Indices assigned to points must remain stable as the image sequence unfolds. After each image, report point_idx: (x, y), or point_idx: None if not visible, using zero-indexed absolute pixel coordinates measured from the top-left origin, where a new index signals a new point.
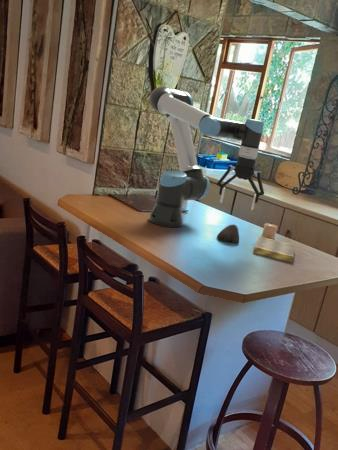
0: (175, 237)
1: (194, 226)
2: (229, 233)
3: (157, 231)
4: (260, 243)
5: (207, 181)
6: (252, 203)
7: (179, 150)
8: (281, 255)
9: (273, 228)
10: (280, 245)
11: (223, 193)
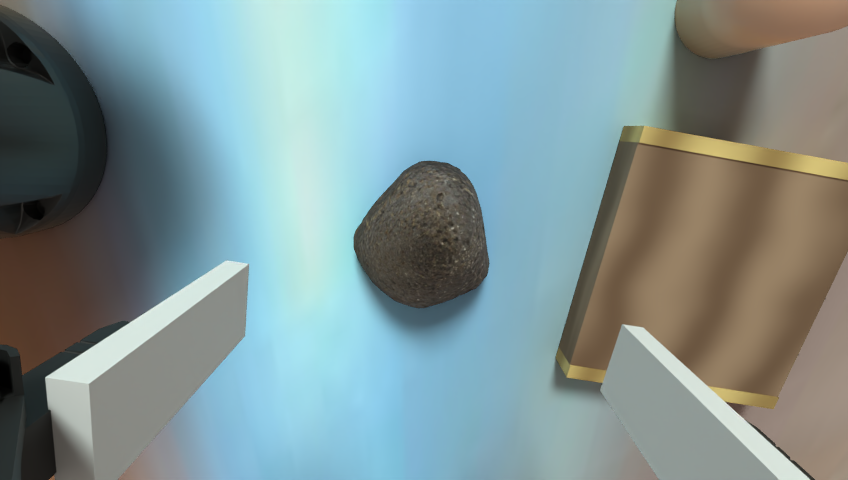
0: None
1: (184, 69)
2: (420, 304)
3: (41, 342)
4: (620, 289)
5: None
6: (644, 454)
7: None
8: None
9: (826, 31)
10: (762, 242)
11: (167, 414)
